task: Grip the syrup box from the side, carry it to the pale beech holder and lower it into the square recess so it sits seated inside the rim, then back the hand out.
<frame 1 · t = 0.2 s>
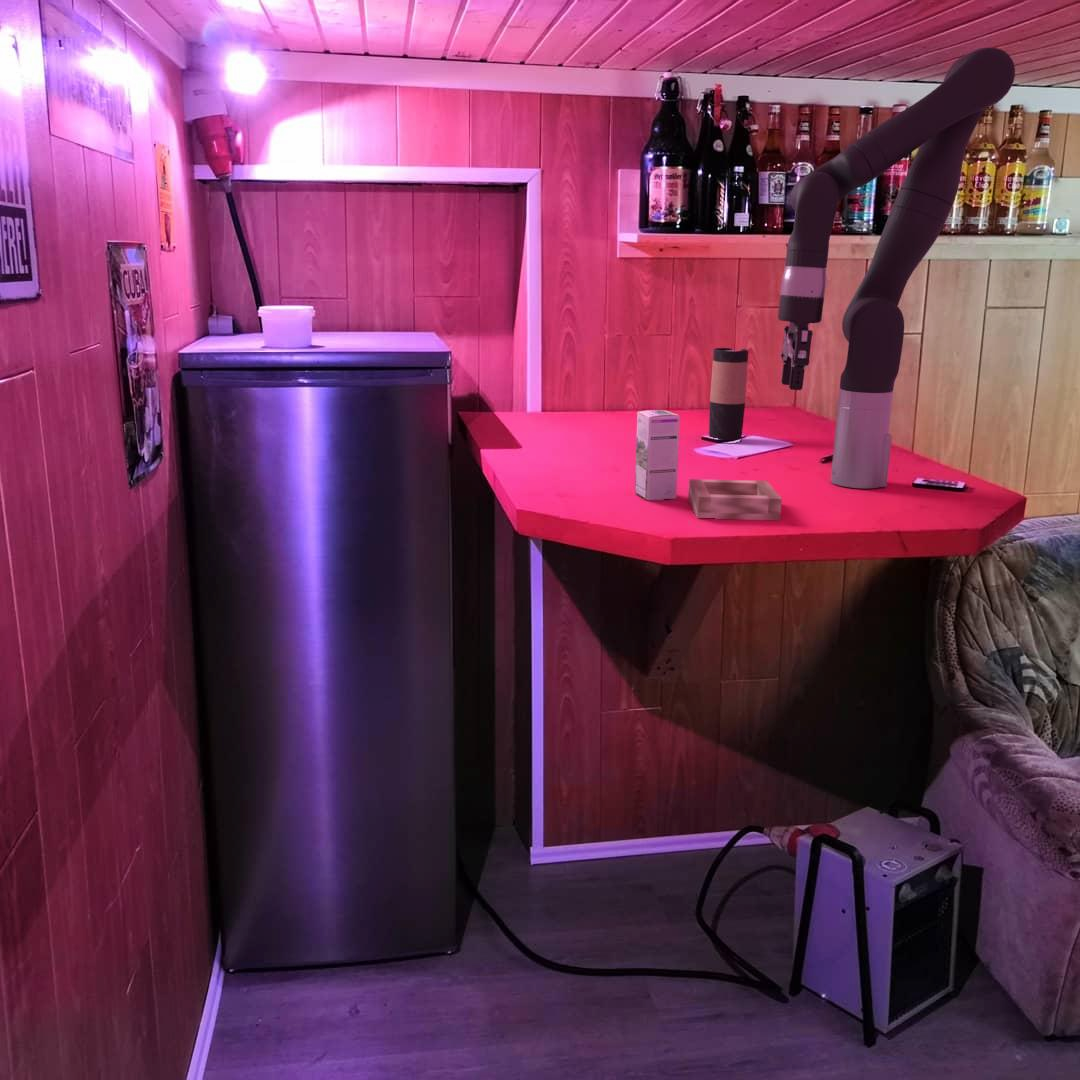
hand: (791, 387, 188), 17 cm above the table, tool pointing down, fingers open, 8 cm apart
travel mug: (724, 441, 234), on the table
syrup box: (654, 497, 180), on the table
holder: (732, 509, 172), on the table
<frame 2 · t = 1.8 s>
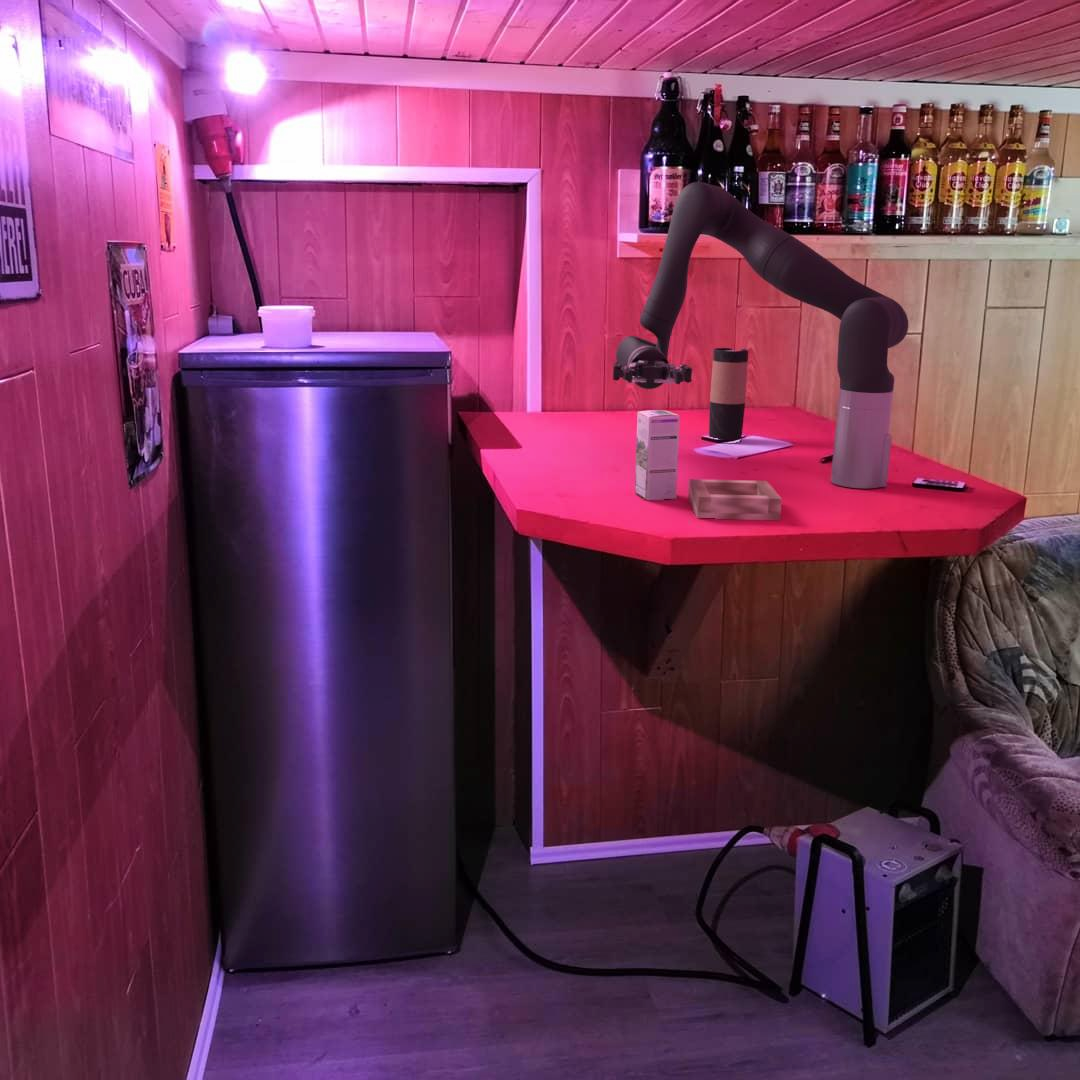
hand: (654, 377, 186), 19 cm above the table, tool horizontal, fingers open, 8 cm apart
nothing on the table moved.
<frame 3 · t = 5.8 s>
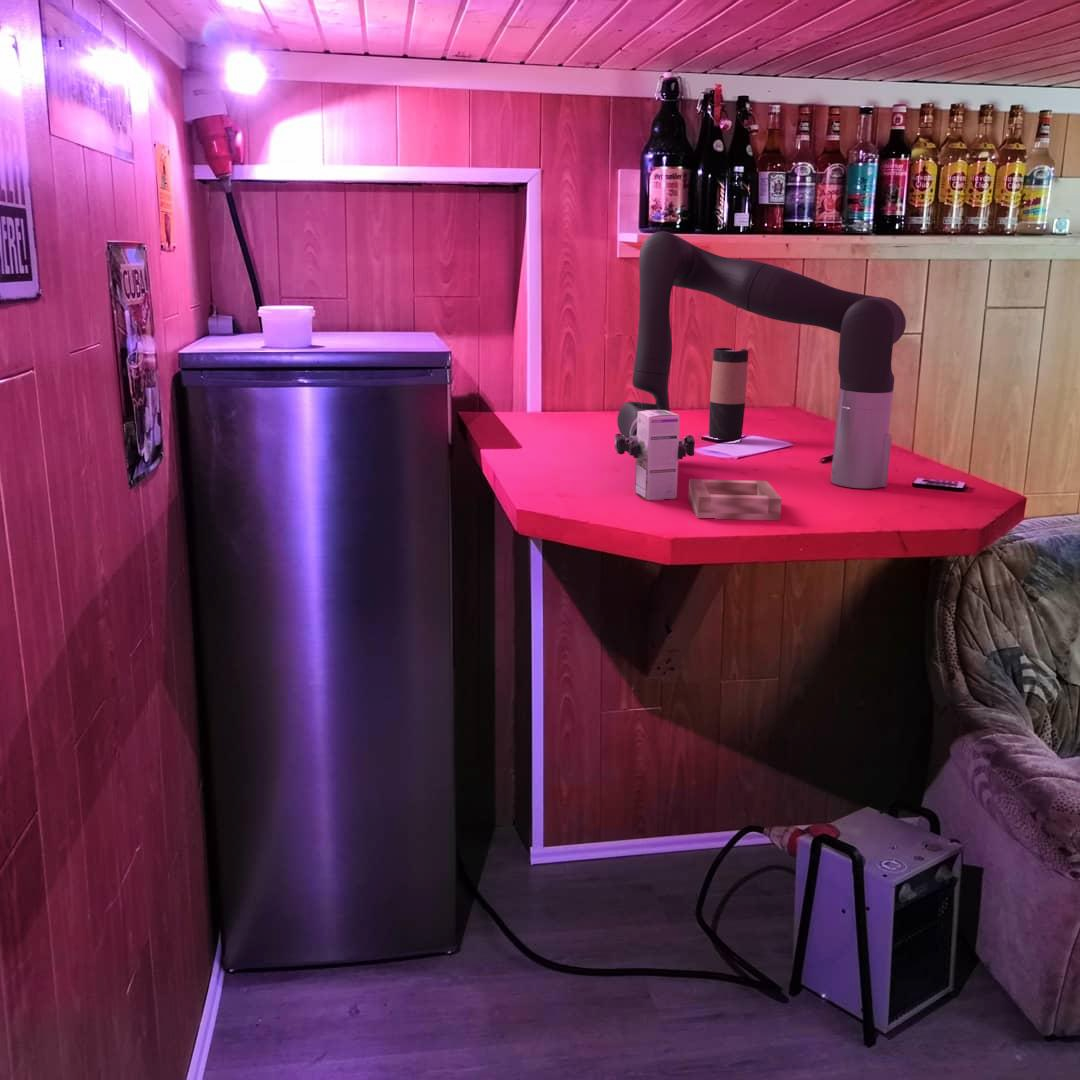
hand: (658, 452, 176), 8 cm above the table, tool horizontal, fingers closed on syrup box, 7 cm apart
syrup box: (655, 497, 180), on the table, touching gripper
everything else where it was.
when the fingers open (10 cm above the table, at t = 11.8 s): syrup box stays where it is, resting on holder.
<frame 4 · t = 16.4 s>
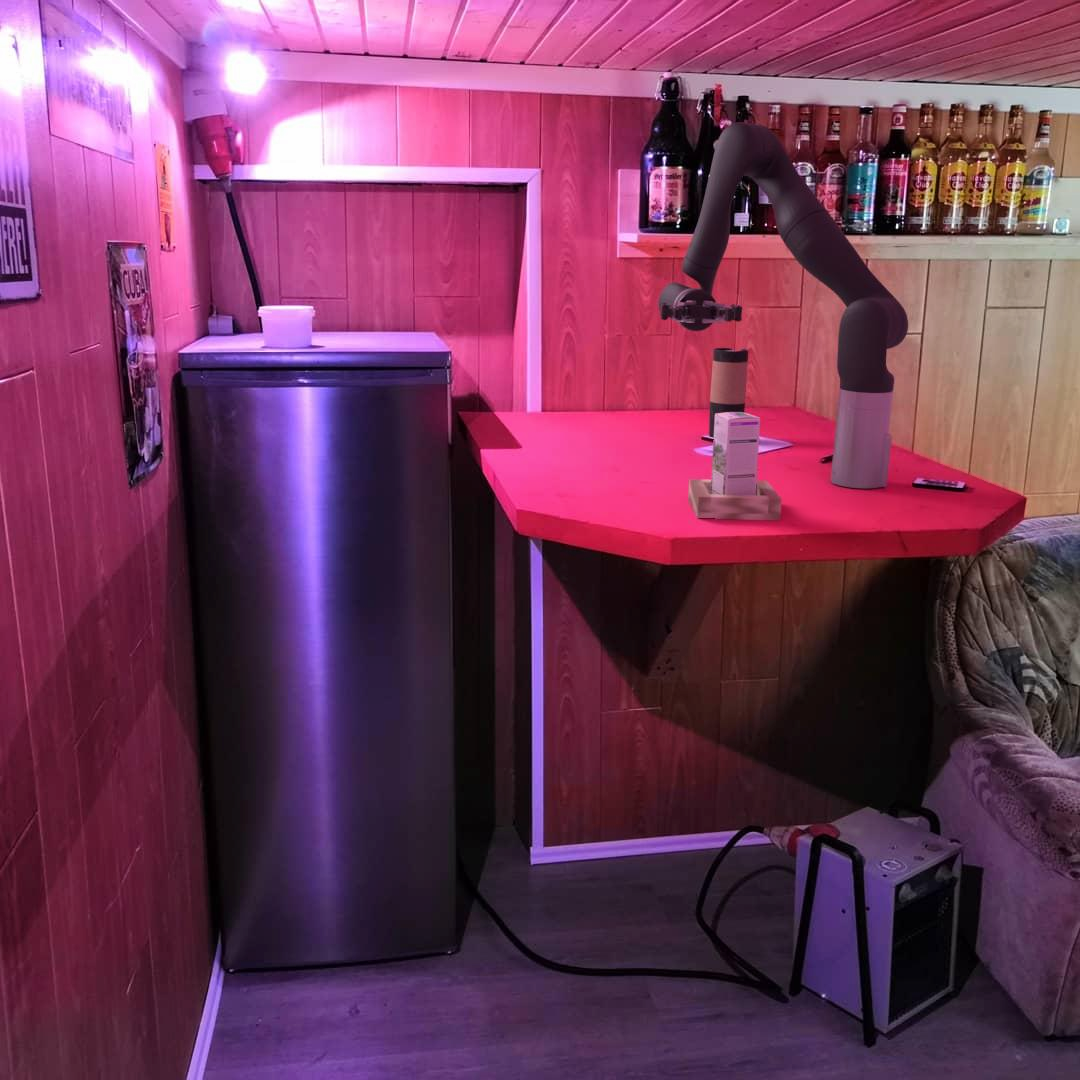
hand: (705, 314, 181), 30 cm above the table, tool horizontal, fingers open, 8 cm apart
syrup box: (731, 503, 172), point 1 cm above the table, touching holder
everything else where it was.
at the end: syrup box 0.2 cm off-centre on the holder, point 0.9 cm above the holder's base; syrup box tilted 0°; the gripper is holding nothing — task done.
